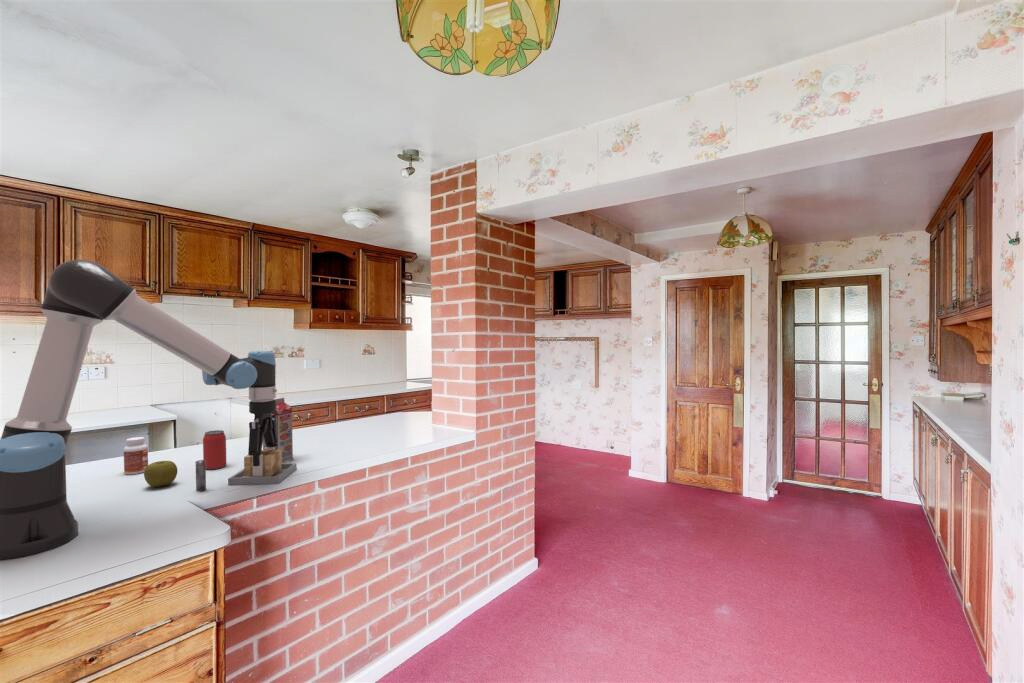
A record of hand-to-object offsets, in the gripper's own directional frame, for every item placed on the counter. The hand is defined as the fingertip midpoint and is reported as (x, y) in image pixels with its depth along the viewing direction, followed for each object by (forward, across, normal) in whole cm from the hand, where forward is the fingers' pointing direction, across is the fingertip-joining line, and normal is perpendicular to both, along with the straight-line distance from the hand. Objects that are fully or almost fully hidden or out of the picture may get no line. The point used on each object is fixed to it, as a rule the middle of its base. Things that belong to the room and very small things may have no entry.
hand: (264, 471), depth 149 cm
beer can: (+2, +12, +21) cm, 24 cm away
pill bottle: (+2, +9, +44) cm, 45 cm away
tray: (+2, 0, 0) cm, 2 cm away
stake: (+2, -11, +13) cm, 17 cm away
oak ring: (0, 0, 0) cm, 0 cm away
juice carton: (+2, +18, +3) cm, 18 cm away
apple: (+2, -6, +27) cm, 28 cm away
